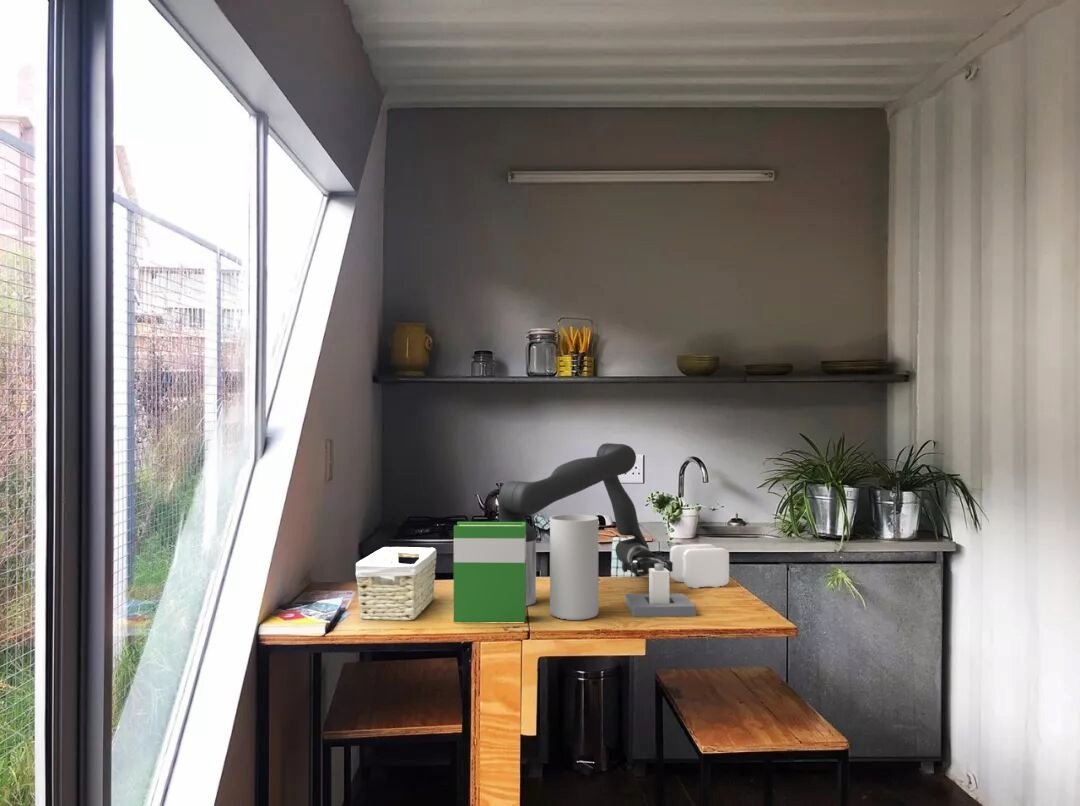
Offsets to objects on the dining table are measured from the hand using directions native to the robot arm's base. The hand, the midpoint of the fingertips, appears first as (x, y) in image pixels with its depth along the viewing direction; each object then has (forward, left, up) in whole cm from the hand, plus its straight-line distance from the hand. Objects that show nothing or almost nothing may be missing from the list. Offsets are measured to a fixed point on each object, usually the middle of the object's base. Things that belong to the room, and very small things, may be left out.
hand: (651, 570), depth 213 cm
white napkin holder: (+18, +18, -8) cm, 27 cm away
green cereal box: (-45, -18, -8) cm, 49 cm away
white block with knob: (0, -11, -8) cm, 14 cm away
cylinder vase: (-23, -15, -8) cm, 29 cm away
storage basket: (-69, -8, -8) cm, 70 cm away
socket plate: (0, -11, -8) cm, 14 cm away
